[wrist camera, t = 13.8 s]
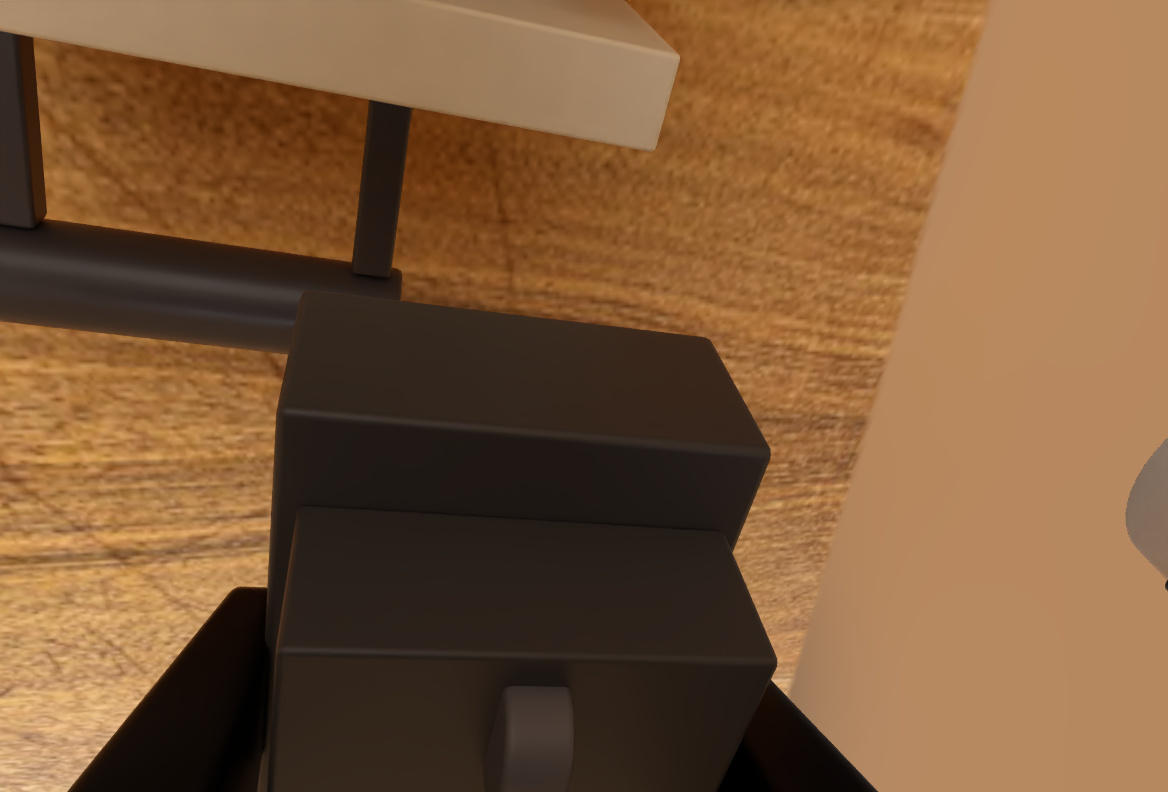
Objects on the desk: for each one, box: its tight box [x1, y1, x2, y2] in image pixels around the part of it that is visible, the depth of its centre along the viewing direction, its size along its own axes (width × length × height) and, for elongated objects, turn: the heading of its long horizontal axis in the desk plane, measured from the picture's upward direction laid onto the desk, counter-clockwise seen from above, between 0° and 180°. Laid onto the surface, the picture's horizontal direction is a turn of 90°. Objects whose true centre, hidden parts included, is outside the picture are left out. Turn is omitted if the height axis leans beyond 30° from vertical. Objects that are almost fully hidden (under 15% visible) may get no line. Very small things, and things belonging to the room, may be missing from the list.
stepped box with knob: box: [257, 290, 777, 792], centre depth 9 cm, size 4×6×4 cm, turn 167°
